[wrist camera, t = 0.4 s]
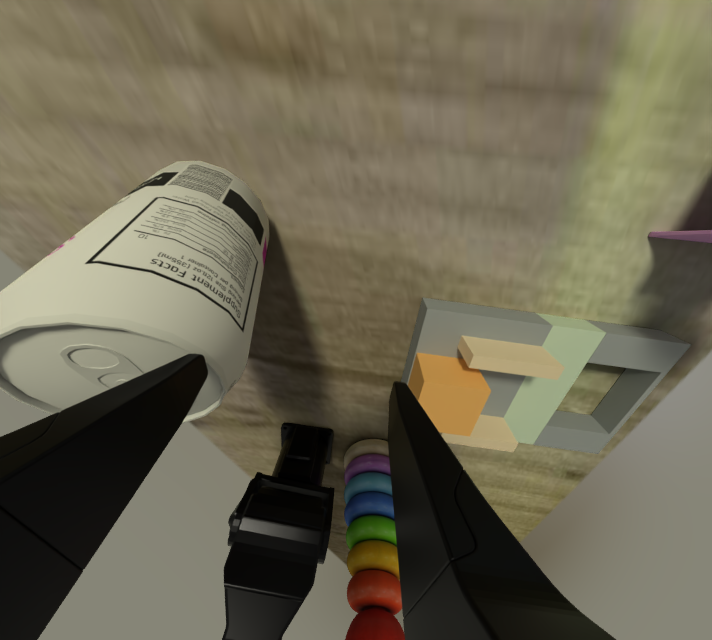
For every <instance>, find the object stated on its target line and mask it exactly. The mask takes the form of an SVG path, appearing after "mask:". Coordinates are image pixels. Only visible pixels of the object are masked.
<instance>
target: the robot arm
mask: <svg viewBox="0 0 712 640" xmlns="http://www.w3.org/2000/svg"><path fill="white" fill-rule="evenodd" d="M207 376H208V369H207V365H206V361H205V357H204V356H203V355H202V354H195V353H194V354H187V355H185V356H183V357H181V358H178V359H176V360H174V361H172V362H169V363H167V364H165V365H163V366H160V367H158V368H156V369H154V370H151V371H149V372H147V373H145V374H142V375H140V376H138V377H136V378H133V379H131V380H129V381H127V382H124V383H122V384H120V385H118V386H115V387H113V388H111V389H109V390H106V391H104V392H102V393H100V394H97V395H95V396H93V397H91V398H89V399H86V400H84V401H82V402H80V403H77V404H75V405H73V406H71V407H68V408H66V409H64V410H62V411H61V412H57V413H55V414H52V415H50V416H48V417H46V418H44V419H42V420H39V421H37V422H34V423H32V424H30V425H27V426H25V427H23V428H21V429H18V430H16V431H14V432H11V433H9V434H6V435H4V436H2V437H0V640H37V639H38V638H39V636H40V635H41V634H42V632H43V630H44V629H45V628H46V626H47V624H48V623H49V622H50V620H51V618H52V617H53V616H54V614H55V613H56V611H57V610H58V608H59V606H60V605H61V604H62V602H63V601H64V599H65V598H66V596H67V595H68V593H69V592H70V590H71V589H72V587H73V586H74V584H75V583H76V581H77V580H78V578H79V577H80V575H81V574H82V572H83V569H85V567H86V566H87V564H88V563H89V561H90V560H91V558H92V556H93V555H94V554H95V552H96V551H97V549H98V548H99V546H100V545H101V543H102V542H103V540H104V539H105V537H106V536H107V534H108V533H109V531H110V530H111V528H112V527H113V525H114V524H115V522H116V521H117V519H118V518H119V516H120V515H121V513H122V511H123V510H124V509H125V507H126V506H127V504H128V503H129V501H130V500H131V498H132V497H133V496H134V494H135V492H136V491H137V490H138V488H139V486H140V485H141V483H142V482H143V481H144V479H145V477H146V476H147V475H148V473H149V472H150V470H151V469H152V467H153V465H154V464H155V462H156V461H157V459H158V458H159V457H160V455H161V454H162V452H163V450H164V449H165V448H166V446H167V445H168V443H169V442H170V440H171V439H172V437H173V436H174V434H175V433H176V431H177V430H178V428H179V427H180V425H181V424H182V422H183V421H184V419H185V417H186V416H187V414H188V412H189V411H190V409H191V407H192V405H193V403H194V401H195V399H196V398H197V396H198V394H199V392H200V390H201V388H202V386H203V384H204V383H205V381H206V379H207ZM332 439H333V430H332V429H327V428H320V427H313V426H306V425H299V424H292V423H283V424H282V427H281V440H282V449H281V452H280V455H279V458H278V460H277V463H276V466H275V469H274V471H273V474H272V476H270V475H265V474H262V473H260V472H257V474H256V476H255V478H254V479H252V480H251V481H250V483H249V485H248V488H247V490H246V492H245V494H244V496H243V498H242V500H241V501H240V502H239V504H238V505H237V507H236V508H235V510H234V511H233V513H232V514H231V516H230V518H229V522H228V523H229V526H230V532H229V538H228V546H231V549H230V552H229V555H228V558H227V560H226V563H225V566H224V587H225V606H226V629H225V632H224V635H223V638H222V640H282V636H283V634H284V632H285V631H286V629H287V627H288V626H289V624H290V623H291V621H292V619H293V618H294V616H295V614H296V613H297V611H298V610H299V608H300V606H301V605H302V603H303V601H304V600H305V598H306V596H307V595H308V593H309V591H310V590H311V588H312V586H313V584H314V579H315V573H316V568H317V563H319V564H323V563H324V560H325V556H326V552H327V548H328V542H329V536H330V530H331V521H332V510H333V499H334V488H332V487H330V488H327V487H323V486H321V485H322V479H323V474H324V469H325V464H329V463H330V457H331V448H332ZM388 450H389V462H390V473H391V485H392V496H393V508H394V519H395V530H396V542H397V553H398V565H399V576H400V587H401V599H402V609H403V617H404V619H403V621H404V634H405V640H616V639H615V638H613V637H612V636H611V635H610V634H608V633H607V632H606V631H604V630H603V629H602V628H600V627H599V626H598V625H597V624H595V623H594V622H593V621H591V620H590V619H589V618H588V617H586V616H585V615H584V614H583V613H581V612H580V611H579V610H578V609H577V608H576V607H575V606H574V605H572V604H571V603H570V602H569V601H568V600H567V599H566V598H565V597H564V596H563V595H562V594H561V593H560V592H559V590H558V589H557V588H556V587H555V586H554V585H553V584H552V583H551V581H550V580H549V579H548V578H547V577H546V575H545V574H544V573H543V572H542V571H541V569H540V568H539V567H538V566H537V564H536V563H535V562H534V561H533V559H532V558H531V557H530V556H529V554H528V553H527V552H526V551H525V549H524V548H523V547H522V546H521V544H520V543H519V542H518V541H517V539H516V538H515V537H514V536H513V534H512V533H511V532H510V531H509V529H508V528H507V527H506V526H505V524H504V523H503V522H502V520H501V519H500V518H499V517H498V515H497V514H496V513H495V511H494V510H493V509H492V507H491V506H490V505H489V504H488V502H487V501H486V500H485V498H484V497H483V495H482V494H481V493H480V491H479V490H478V488H477V487H476V486H475V484H474V483H473V481H472V480H471V478H470V477H469V475H468V474H467V472H466V471H465V470H463V467H462V465H461V464H460V462H459V461H458V459H457V458H456V456H455V455H454V453H453V452H452V450H451V449H450V447H449V446H448V444H447V443H446V441H445V440H444V439H443V437H442V436H441V434H440V433H439V431H438V430H437V428H436V427H435V425H434V424H433V422H432V421H431V419H430V418H429V416H428V415H427V413H426V412H425V410H424V409H423V407H422V406H421V405H420V403H419V402H418V400H417V399H416V397H415V396H414V394H413V393H412V391H411V390H410V388H409V387H408V385H407V384H406V383H405V382H398V381H395V382H394V383H393V387H392V391H391V395H390V399H389V425H388Z"/></svg>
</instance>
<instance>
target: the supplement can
mask: <svg viewBox="0 0 712 640" xmlns="http://www.w3.org/2000/svg"><path fill="white" fill-rule="evenodd" d="M268 242H269V219H268V217H267V214H266V212H265V210H264V207H263V205H262V203H261V200H260V199H259V198H258V197H257V196H256V195H255V193H254V192H253V191H252V190H251V189H250V187H249V186H248V185H247V184H246V183H245V182H244V181H242V180H241V179H239V178H238V177H236V176H235V175H233V174H232V173H230V172H229V171H227V170H226V169H224V168H221V167H218V166H215V165H212V164H209V163H206V162H202V161H177V162H175V163H173V164H171V165H169V166H167V167H165V168H163V169H161V170H159V171H158V172H156V173H155V174H154V175H153V176H151V177H150V178H149V179H147V180H146V181H145V182H143V183H142V184H141V185H139V186H138V187H137V188H136V189H134V190H133V191H132V192H130V193H129V194H128V195H126V196H125V197H124V198H122V199H121V200H120V201H118V202H117V203H116V204H115V205H113V206H112V207H111V208H109V209H108V210H107V211H105V212H104V213H103V214H101V215H100V216H99V217H98V218H96V219H95V220H94V221H92V222H91V223H90V224H88V225H87V226H86V227H84V228H83V229H82V230H81V231H79V232H78V233H77V234H75V235H74V236H73V237H71V238H70V239H69V240H67V241H66V242H65V243H64V244H62V245H61V246H60V247H58V248H57V249H56V250H54V251H53V252H52V253H50V254H49V255H48V256H47V257H45V258H44V259H43V260H41V261H40V262H39V263H37V264H36V265H35V266H33V267H32V268H31V269H30V270H28V271H27V272H26V273H24V274H23V275H22V276H20V277H19V278H18V279H17V280H15V281H14V282H13V283H11V284H10V285H9V286H7V287H6V288H5V289H4V290H2V291H1V292H0V389H1V390H2V391H3V392H5V393H7V394H8V395H9V396H11V397H12V398H14V399H16V400H17V401H19V402H22V403H25V404H27V405H30V406H32V407H35V408H38V409H40V410H42V411H45V412H47V413H50V414H55V413H57V412H61V411H62V410H64V409H66V408H68V407H71V406H73V405H75V404H77V403H80V402H82V401H84V400H86V399H89V398H91V397H93V396H95V395H97V394H100V393H102V392H104V391H106V390H109V389H111V388H113V387H115V386H118V385H120V384H122V383H124V382H127V381H129V380H131V379H133V378H136V377H138V376H140V375H142V374H145V373H147V372H149V371H151V370H154V369H156V368H158V367H160V366H163V365H165V364H167V363H169V362H172V361H174V360H176V359H178V358H181V357H183V356H185V355H187V354H194V353H195V354H202V355H203V356H204V357H205V361H206V365H207V369H208V376H207V379H206V381H205V383H204V384H203V386H202V388H201V390H200V392H199V394H198V396H197V398H196V399H195V401H194V403H193V405H192V407H191V409H190V411H189V412H188V414H187V416H186V417H185V419H184V421H183V422H182V423H185V422H188V421H191V420H194V419H197V418H200V417H203V416H206V415H207V414H209V413H210V412H211V411H213V410H214V409H215V408H217V407H218V406H220V404H221V402H222V400H223V397H224V396H225V395H226V394H227V392H228V391H229V390H230V389H231V388H232V387H233V386H234V385H235V384H236V383H237V382H238V381H239V379H240V377H241V375H242V373H243V371H244V369H245V367H246V365H247V361H248V355H249V349H250V344H251V338H252V332H253V327H254V321H255V315H256V310H257V304H258V298H259V293H260V287H261V281H262V276H263V270H264V264H265V259H266V253H267V247H268Z"/></svg>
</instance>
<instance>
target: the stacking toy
mask: <svg viewBox="0 0 712 640" xmlns="http://www.w3.org/2000/svg"><path fill="white" fill-rule="evenodd" d="M344 468H345V474H344V480H345V484H346V487H345V490H344V500H345V503H346V507H345V512H344V517H345V521H346V524H347V526H348V529H347V533H346V542H347V545H348V547H349V549H350V552H349V554H348V557H347V567H348V570H349V572H350V574H351V575H352V576H353V577H352V578H351V580H350V582H349V584H348V588H347V599H348V602H349V604H350V606H351V608H352V609H353V610H354V611H356V612H357V613H358V614H357V615H356V617H355V618H354V619H353V621H352V623H351V625H350V627H349V629H348V632H347V635H346V639H345V640H405V634H404V632H403V630H402V627H401V625H400V623H399V622H398V620H397V619H396V618H395V617H394V615H395V614H397V613H398V612H399V611H400V610H401V609H402V599H401V587H400V581H399V579H400V576H399V565H398V553H397V542H396V530H395V519H394V508H393V496H392V485H391V473H390V462H389V450H388V442H387V441H384V440H380V439H367V440H362V441H359V442H357V443H355V444H353V445H352V446H351V447H350V448H349V449H348V450H347V451H346V453H345V456H344Z"/></svg>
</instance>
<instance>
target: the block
mask: <svg viewBox="0 0 712 640" xmlns="http://www.w3.org/2000/svg"><path fill="white" fill-rule="evenodd" d="M408 387H409V388H410V390H411V391H412V393H413V394H414V396H415V397H416V399H417V400H418V402H419V403H420V405H421V406H422V407H423V409H424V410H425V412H426V413H427V415H428V416H429V418H430V419H431V421H432V422H433V424H434V425H435V427H436V428H437V430H438V431H439V432H441V433H448V434H455V435H462V436H469V437H470V435H471V433H472V431H473V429H474V426H475V424H476V422H477V420H478V418H479V416H480V414H481V412H482V410H483V407H484V405H485V403H486V401H487V399H488V397H489V395H490V393H491V389H490V388H489V386H488V384H487V383H486V381H485V379H484V377H483V376H482V374H481V372H480V371H479V369H474V368H469V367H468V366H467V364H466V362H465V360H464V359H461V358H454V357H446V356H439V355H432V354H425V353H416V357H415V360H414V364H413V368H412V371H411V375H410V379H409V382H408Z"/></svg>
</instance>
